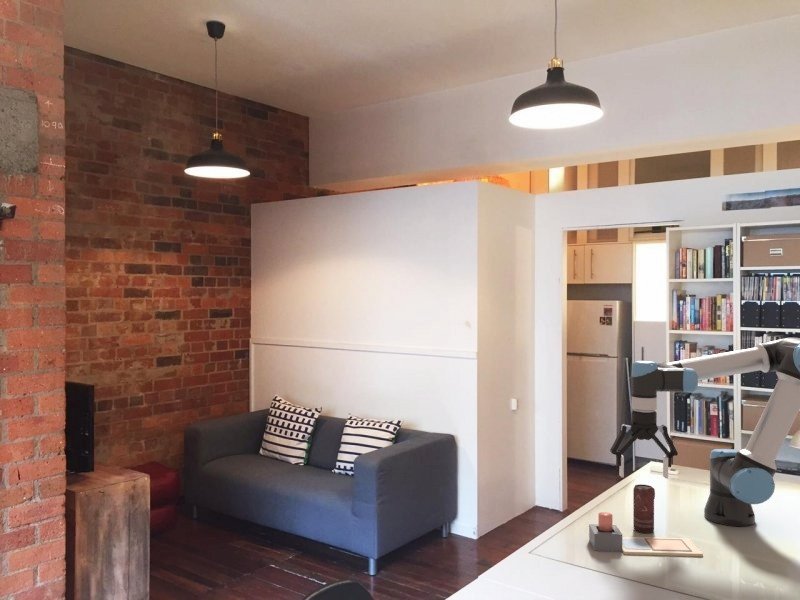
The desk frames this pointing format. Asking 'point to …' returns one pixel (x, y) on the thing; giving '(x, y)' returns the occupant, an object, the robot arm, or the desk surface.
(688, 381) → the robot arm
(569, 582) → the desk surface
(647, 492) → the can
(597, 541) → the button housing
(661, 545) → the board
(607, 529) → the button
